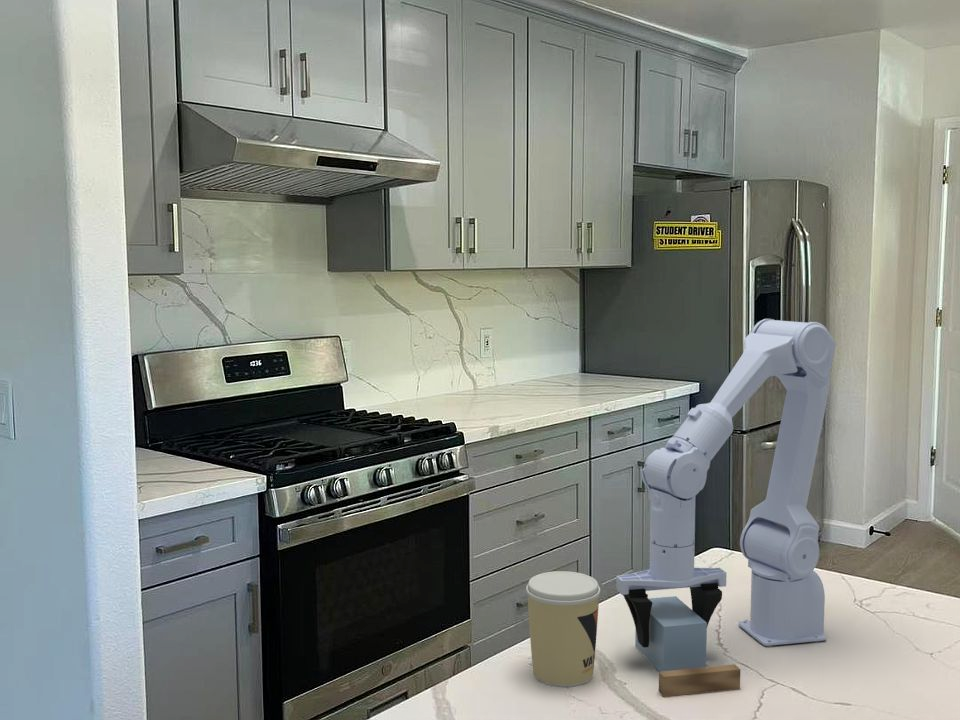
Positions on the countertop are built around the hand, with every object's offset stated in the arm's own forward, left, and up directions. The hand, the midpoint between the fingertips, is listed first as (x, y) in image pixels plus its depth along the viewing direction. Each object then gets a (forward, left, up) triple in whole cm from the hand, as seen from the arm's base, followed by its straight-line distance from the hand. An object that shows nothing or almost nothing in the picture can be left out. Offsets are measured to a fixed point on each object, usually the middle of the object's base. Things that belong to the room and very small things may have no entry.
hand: (670, 641), depth 125 cm
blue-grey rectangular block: (0, 0, -2) cm, 3 cm away
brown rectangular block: (0, +9, -2) cm, 9 cm away
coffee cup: (+15, +1, -3) cm, 15 cm away
